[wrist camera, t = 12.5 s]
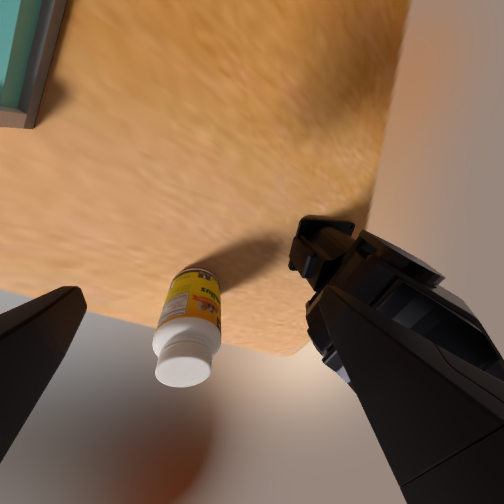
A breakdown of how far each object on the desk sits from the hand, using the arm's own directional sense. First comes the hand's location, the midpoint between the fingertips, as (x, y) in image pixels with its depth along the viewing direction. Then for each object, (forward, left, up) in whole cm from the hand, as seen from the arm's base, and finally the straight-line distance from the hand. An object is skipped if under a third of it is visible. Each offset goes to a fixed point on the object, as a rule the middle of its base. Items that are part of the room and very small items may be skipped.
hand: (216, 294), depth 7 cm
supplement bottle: (+2, +10, -13) cm, 17 cm away
